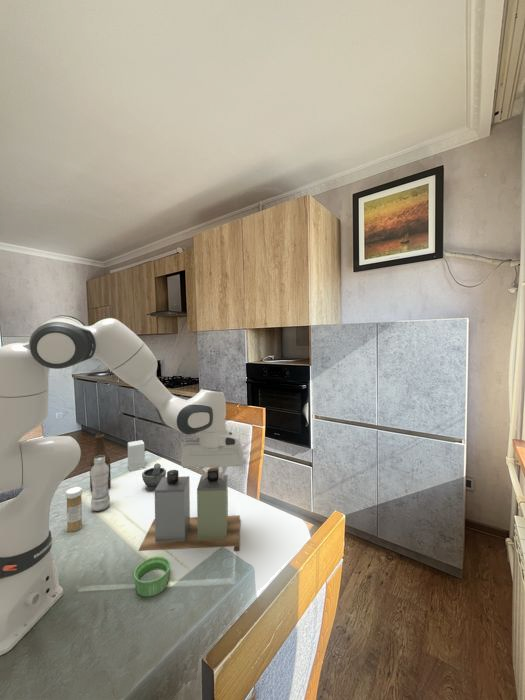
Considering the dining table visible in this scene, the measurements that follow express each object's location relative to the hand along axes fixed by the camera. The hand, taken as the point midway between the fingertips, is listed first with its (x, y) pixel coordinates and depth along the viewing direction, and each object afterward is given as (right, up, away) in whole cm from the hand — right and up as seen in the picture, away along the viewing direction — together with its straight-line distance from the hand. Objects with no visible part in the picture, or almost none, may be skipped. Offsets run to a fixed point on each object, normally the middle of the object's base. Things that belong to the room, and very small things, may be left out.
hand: (213, 479), depth 97 cm
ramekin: (-13, -20, -19) cm, 30 cm away
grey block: (-13, -17, 0) cm, 22 cm away
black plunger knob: (0, -17, +1) cm, 17 cm away
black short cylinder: (-13, -17, 0) cm, 22 cm away
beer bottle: (-54, -19, +31) cm, 65 cm away
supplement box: (-48, -18, +55) cm, 75 cm away
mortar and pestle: (-31, -18, +33) cm, 49 cm away
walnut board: (-6, -19, 0) cm, 20 cm away
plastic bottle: (-46, -19, +17) cm, 52 cm away
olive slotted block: (0, -17, +1) cm, 17 cm away
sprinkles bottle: (-48, -19, +5) cm, 52 cm away
